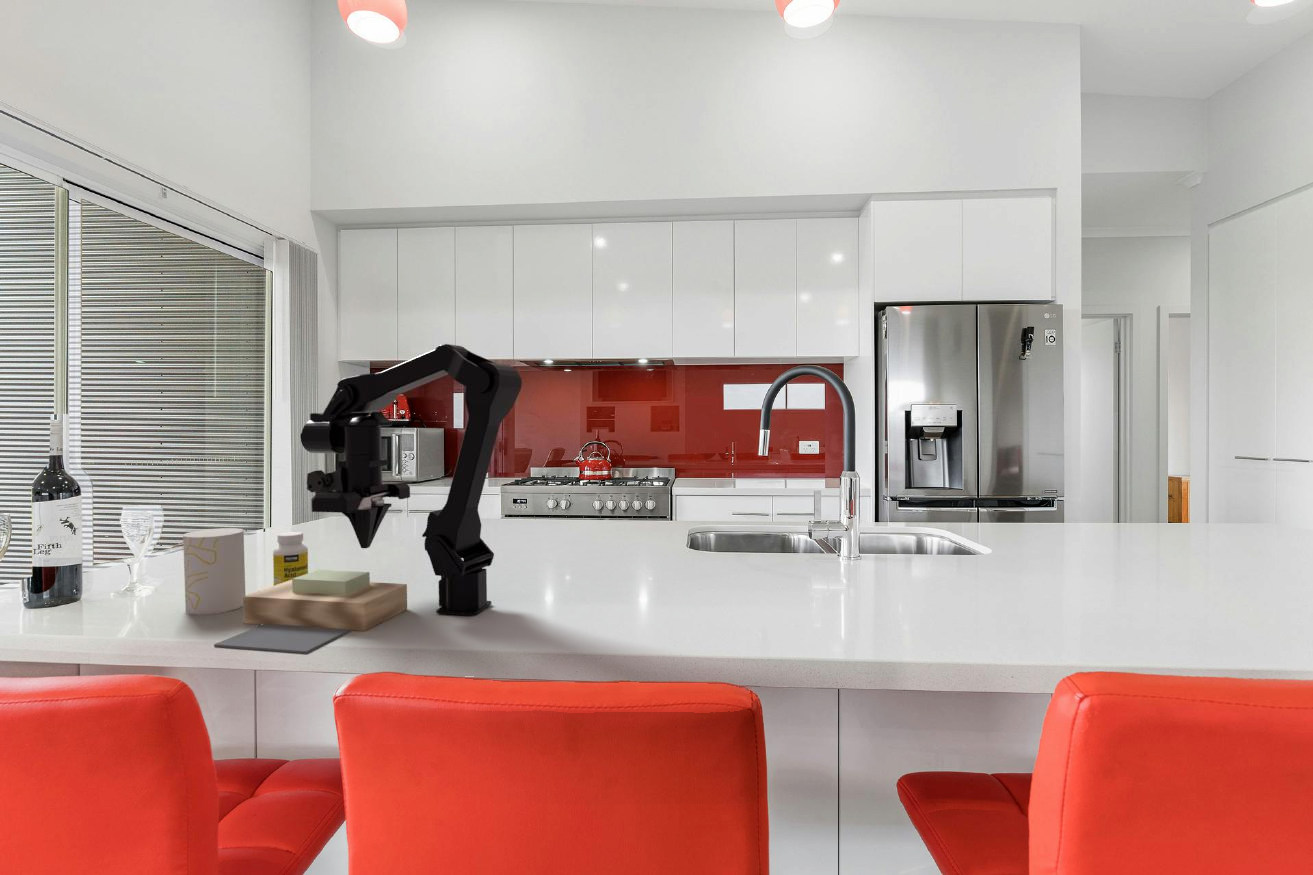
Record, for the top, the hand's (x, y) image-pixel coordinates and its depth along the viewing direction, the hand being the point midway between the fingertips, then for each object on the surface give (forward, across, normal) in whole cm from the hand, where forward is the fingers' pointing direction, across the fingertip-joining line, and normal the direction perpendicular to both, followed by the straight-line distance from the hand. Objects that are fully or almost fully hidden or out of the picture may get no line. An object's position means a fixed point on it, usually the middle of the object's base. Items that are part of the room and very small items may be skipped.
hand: (365, 547), depth 115 cm
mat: (+9, +20, +1) cm, 22 cm away
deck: (+9, +10, 0) cm, 13 cm away
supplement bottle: (+9, -4, -17) cm, 20 cm away
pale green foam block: (+5, +8, 0) cm, 10 cm away
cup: (+9, +8, -21) cm, 24 cm away
